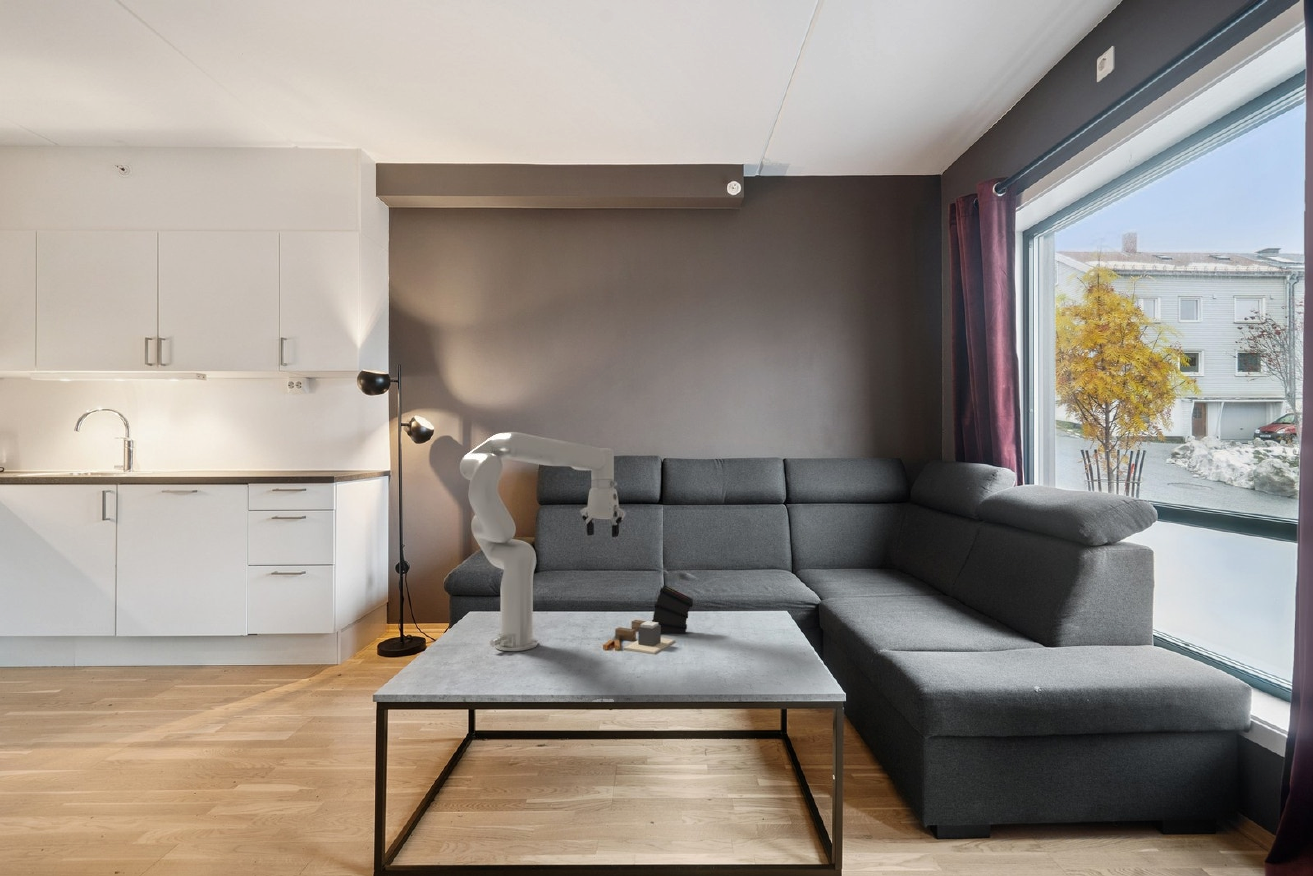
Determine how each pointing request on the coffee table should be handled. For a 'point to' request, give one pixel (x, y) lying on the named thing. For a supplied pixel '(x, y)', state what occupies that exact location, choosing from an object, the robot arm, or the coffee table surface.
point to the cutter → (612, 643)
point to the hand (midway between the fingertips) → (602, 535)
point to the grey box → (649, 634)
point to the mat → (649, 649)
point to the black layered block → (672, 611)
